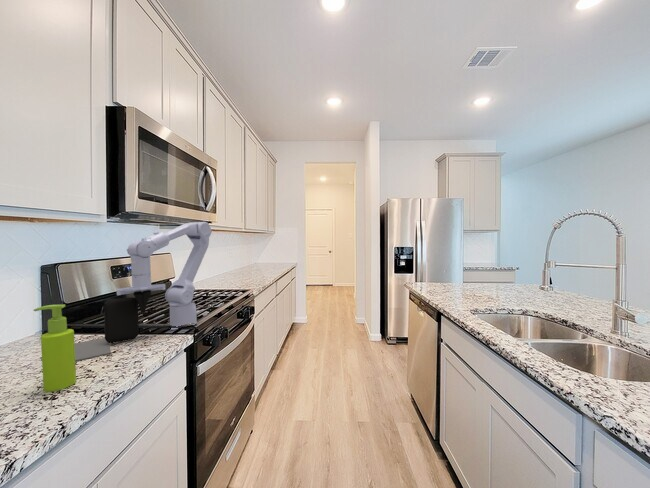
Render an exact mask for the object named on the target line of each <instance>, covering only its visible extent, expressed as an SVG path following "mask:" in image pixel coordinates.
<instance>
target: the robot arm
mask: <svg viewBox="0 0 650 488" xmlns="http://www.w3.org/2000/svg"><path fill="white" fill-rule="evenodd" d="M152 233H153V234H151V235H149V236H147V237H146V236H143V237H141V240H134V241H131V242H130V244H129V245H128V248H126V252H127V254H128V256H130V262H131V263H130V265H131V267H130V268H131V286H130V287H129V286H128V287H122V288H116V296H121V295H122V296H123V295H128V294H133V297H134V298H136V300H137V302H138V308H139V311H140V313H141V314H143V313H146V308H147V304H148V301H149V299H150V297H151V295H152V292H153V291H154V292H155V291H161V290H162V291H164V290H166V291H165V295H164V296H165V297H164V299H165V300H166V301H167V302H168V305H169V322H170V323H169V324H170V325H172V326H176V327H178V326H181V325H184V324H187V323H197V324H198V322H197V320H198V319H197V318H198V317H197V306H196V303H195V302H192V301H193V299H194V292H195V289H196V288H195V285H194V284H193V282H194V280H195V278H196V275H197V273H198V271H199V268H200V266H201V265H202V262H203V260H204V257H205V254H206V252H207V250H208V247H209V244H210V243H209V242H210V237H211V235H212V233H213V231H212V229H211V226H210V223H209V222H207V221H198V222H195V221H194V222H193V221H192V222H191V221H189V222H187V223H184V224H181V225H179V226H177V227H175V228H173V229H171V230H169V231H167V232H162V231H160V232H159V231H154V232H152ZM185 235H186V236H187V238H188V239H189V240H190V242H192V244H193V247H192V249H191V251H190V253H189V256H188V257H187V260H186V262H185V264H184V267H183V269H182V271H181V273H180V275H179V278H178V279H176V280H174V281H173V282H172V284H171V285H170V287H169V288H167V289H166V284H165V283H160V284H152V275H151V274H152V272H151V271H152V270H151V267H152V266H151V256H152V255H153V253H154V252H156V251H158V250H160V249H162V248H165V247H167V246H168V245H169V244H170V241H172V240H176V239H178V238H180V237H183V236H185ZM170 330H171V331H175V330H179V329H178V328H171V329H170Z"/></svg>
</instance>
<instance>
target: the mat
mask: <svg viewBox="0 0 650 488" xmlns="http://www.w3.org/2000/svg"><path fill="white" fill-rule="evenodd" d="M74 345H75V363H76V362H79V361H80V362H81V361H83V360H89V359H94V358H98V357H102V356H107V355H111V354H112V350H111V343H108V342H107V341H106V340H105V337H100V338H95V339H91V340H86V341H81V342H74Z"/></svg>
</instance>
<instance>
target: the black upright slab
mask: <svg viewBox="0 0 650 488" xmlns="http://www.w3.org/2000/svg"><path fill="white" fill-rule="evenodd" d="M103 313H104V315H103ZM100 315H101V316H102V315H103V319H104V321H103V322H104V338H105V340H106V341H107V342H108V343H110V344H115V343H121V342H125V341H131V340H134V339H136V338H137V337H139V334H140V329H139V328H140V327H139V325H140V324H139V304H138V302H137V300H136V298H135V296H133V297H132V296H131V297H130V296H129V297H122V298H121V297H120V298H112V299H109V300H107V301H106V302H105V303H104V304H103V306H102V308H101V310H100Z"/></svg>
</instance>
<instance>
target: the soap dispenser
mask: <svg viewBox="0 0 650 488" xmlns="http://www.w3.org/2000/svg"><path fill="white" fill-rule="evenodd" d="M64 308H66V303H65V304H62V303H61V304H49V305H43V306H40V307H37V308H34V309H33V311H34V312H39V311H42V310H51V318H49V319H47V332H45V333H43V334H41V336H40V344H41V347H40V348H41V363H42V366H41V367H42V368H41V369H42V383H43V384H42V387H43V392H47V393H49V392H52V393H53V392H58V391H61V390H63V389H66V388H69V387H71V386H73V385H74V384H76V383H77V371H76V370H77V369H76V367H77V366H76V362H75V345H74V343H75V331H74V329H72V328H68V321H67V319H68V318H67V316H63V315H62V314H63V312H62V309H64Z"/></svg>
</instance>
